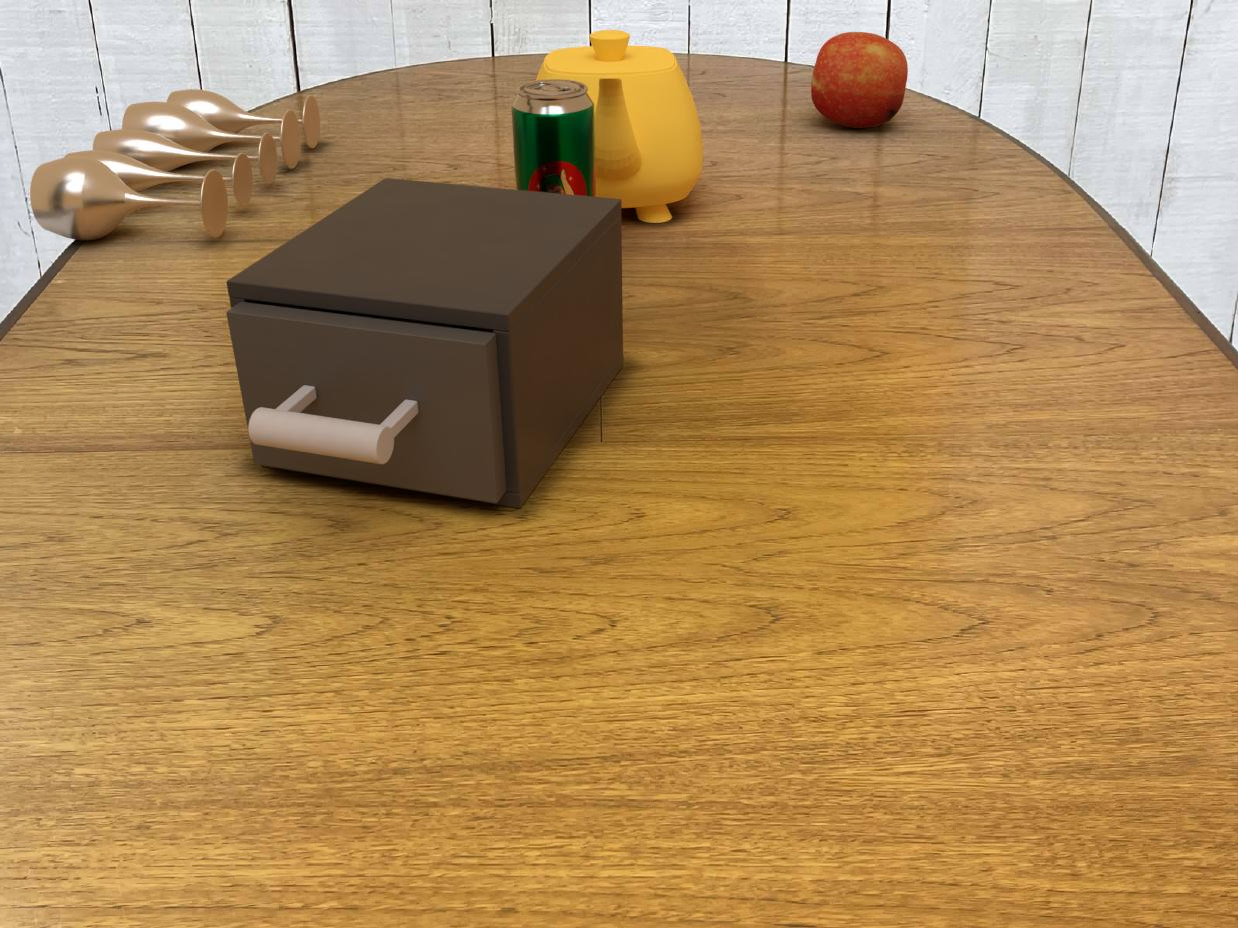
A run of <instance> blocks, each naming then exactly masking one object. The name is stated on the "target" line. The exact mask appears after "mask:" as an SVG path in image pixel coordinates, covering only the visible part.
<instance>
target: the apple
mask: <svg viewBox="0 0 1238 928" xmlns="http://www.w3.org/2000/svg"><path fill="white" fill-rule="evenodd" d="M908 69H909V67H908V60H907V57H906V55H905V53H904V51H903V50H902V49H901V47H899V45H897V44H896V43H894V42H893V41H891V40H890V39H888V38H886V37H884V36H882V35H879V34H877V33H873V32H867V31H847V32H842V33H840V34H836V35H834V36H832V37H831V38H829V39H828V40H826V41H825V42H824V44H823V45H822V46H821V47H820V49H819V51H818V54H817V56H816V60H815V63H814V67H813V70H812V76H811V79H810V80H811V81H810V84H811V85H810V86H811V87H810V94H811V95H810V96H811V101H812V104H813V106H814V108H815V109H816V110H817V111H818V112H819V113H820V114H821V115H822V116H823V117H824V118H825V119H827V120H828V121H830V122H832V123H834V124H836V125H840V126H842V127H843V126H844V127H847V128H852V129H865V128H874V127H878V126H880V125H883V124H885V123H888V122H889V121H891V120H892V119H893V118H894V117H895V116H896V115H897V114H898V113H899V111H900V110H901V108H902V106H903V103H904V100H905V94H906V88H907V83H908V74H909V70H908Z"/></svg>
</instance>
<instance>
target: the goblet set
mask: <svg viewBox="0 0 1238 928" xmlns="http://www.w3.org/2000/svg"><path fill="white" fill-rule="evenodd" d="M121 123H122V124H121V129H110V130H105V131H103V130H102V131H100V132H98V133H96V135H95V136H94V139H93V143H92V150H91V149H90V150H82V151H73V152H69V153H66V154H65V155H64V157H61V158H57V159H54V160H51V161H47V162H44V163H42V164H40V165H38V167H36V169H35V171H34V172H33V174H32V177H31V181H30V188H29V199H30V205H31V210H32V214H33V216H34V219H35V220H36V222H37V224H38V225H39V226H40V227H41V228H42V229H44V230H45V231H48V232H49V233H53V234H56V235H57V236H61V237H64V238H67V239H70V240H74V241H75V240H76V241H94V240H99V239H101V238H104V237H106V236H108V235H109V234H111V233H112V232H113V231H114V230H115V229H116V228H117V227H119V226H120V224H121V223H122V222H123V221H124V220H125V219H126V218H127V217H128V216H129V215H130V214H132V213H133V212H135V211H138V210H139V209H142V208H146V207H153V206H154V207H155V206H194V207H200V215H201V220H202V223H203V226H204V229H205V231H206V232H207V234H208V235H209V236H210V237H211V238H212V239H213V238H214V239H217V238H219V237H221V235H222V234H224V230H225V228H226V226H227V221H228V215H229V197H228V191H227V186H226V183H231V184H232V185H231V186H232V191H233V196H234V198H235V201H236V203H237V204H238V205H239V206H240V207H242V208H246V207H247V206H248V205H249V203H250V201H251V199H252V196H253V187H254V175H253V169H252V165H251V161H257V162H258V167H259V173H260V177H261V179H262V180H263V182H264V183H265V185H272V184H273V183H274V181H275V179H276V177H277V176H276V175H277V170H278V152H277V145H276V142H280V149H281V154H282V159H283V161H284V164H285V165H286V167H287V168H288V169H291V170H293V169H295V168H296V167H297V165H298V162H299V160H300V156H301V149H302V148H301V147H302V138H301V129H300V128H301V127H300V125H302V131H303V132H302V133H303V136H304V137H303V138H304V141H305V143H306V145H307V147H309V149H315V148H316V147H317V145H318V143H319V139H320V133H321V115H320V109H319V105H318V102H317V99H316V98H315V96H314V95H312V94H308V95H307V96H306V98H305V100H304V103H303V108H302V119H301V118H298V116H297V115H296V113H295V112H294V110H293V109H287V110H286V111H285V112H284V114H283V116H282V117H271V116H264V115H258V114H254V113H250V112H248V111H246V110H244V109H242V108H241V107H240V106H238V105H237V104H236V103H234V101H231V100H230V99H228V98H227V97H226V96H223V95H221V94H219V93H217V92H214V91H210V90H206V89H197V88H194V89H193V88H192V89H181V90H174V91H171V92H170V93H169V95H168V96H167V99H166V102H164V101H145V102H144V101H143V102H135V103H132V104H129V105H128V106H127V107H126V109H125V111H124V113H123V116H122V122H121ZM271 124H272V125H273V124H280V133H279V134H280V135H272V134H271V133H270V132H264V133H263V134H262V135H258V134H257V135H256V134H241V132H242V131H243V130H246V129H248V128H250V127H255V126H261V125H271ZM233 142H259V143H258V144H259V145H258V155H247V154H246V153H244V152H239V153H238V154H224V153H223V154H222V153H220V154H219V153H213V152H212V153H211V152H209V151H212V149H214V148H215V147H218V146H219V145H222V144H225V143H233ZM221 160H223V161H225V160H228V161H229V160H231V161H233V164H232V171H231V176H222V174H221V173H220V172H219V170H217V169H214V168H212V169H209V170H208V171H207V172H206V174H205V175H197V174H196V175H195V174H184V173H175V172H171V171H172V170H175V169H177V168H179V167H183V166H184V165H188V164H191V163H195V162H201V161H221ZM174 182H202V183H201V188H200V197H199V199H174V198H173V199H172V198H161V197H154V196H149V195H145V194H142V193H139V192H141V191H144V190H146V189H149V188H151V187H155V186H158V185H162V184H167V183H174Z"/></svg>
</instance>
